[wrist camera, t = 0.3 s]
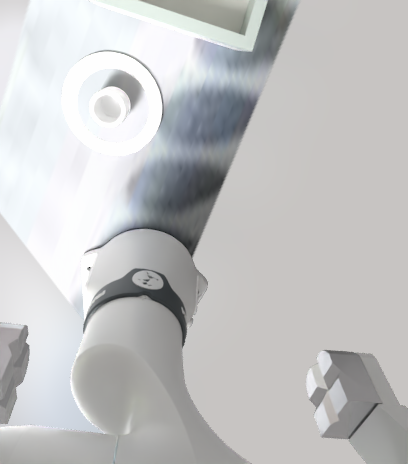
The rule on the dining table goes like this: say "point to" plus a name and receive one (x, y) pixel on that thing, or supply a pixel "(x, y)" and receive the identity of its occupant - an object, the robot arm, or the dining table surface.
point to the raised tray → (200, 18)
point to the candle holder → (110, 102)
